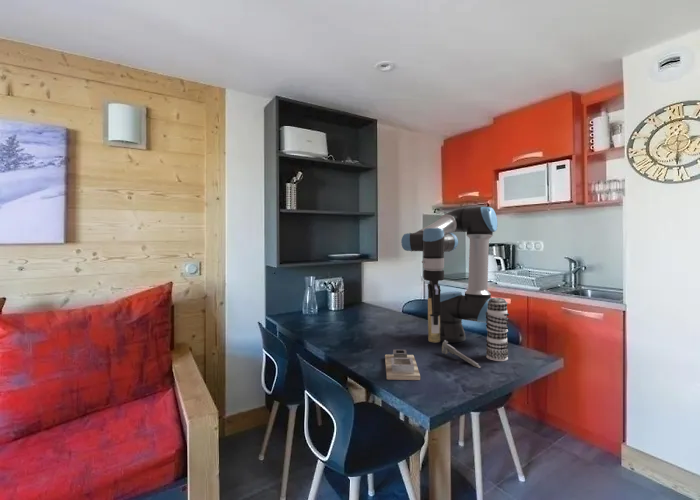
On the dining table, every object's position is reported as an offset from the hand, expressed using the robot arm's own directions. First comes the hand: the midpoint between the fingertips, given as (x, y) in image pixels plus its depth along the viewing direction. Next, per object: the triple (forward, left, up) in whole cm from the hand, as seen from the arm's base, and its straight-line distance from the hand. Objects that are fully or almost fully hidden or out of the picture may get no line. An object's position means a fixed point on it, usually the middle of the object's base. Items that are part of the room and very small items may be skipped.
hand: (434, 330), depth 132 cm
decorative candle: (-29, -17, -16) cm, 37 cm away
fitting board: (+12, -4, -16) cm, 20 cm away
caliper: (-13, -14, -16) cm, 25 cm away
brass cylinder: (0, 0, -4) cm, 4 cm away
